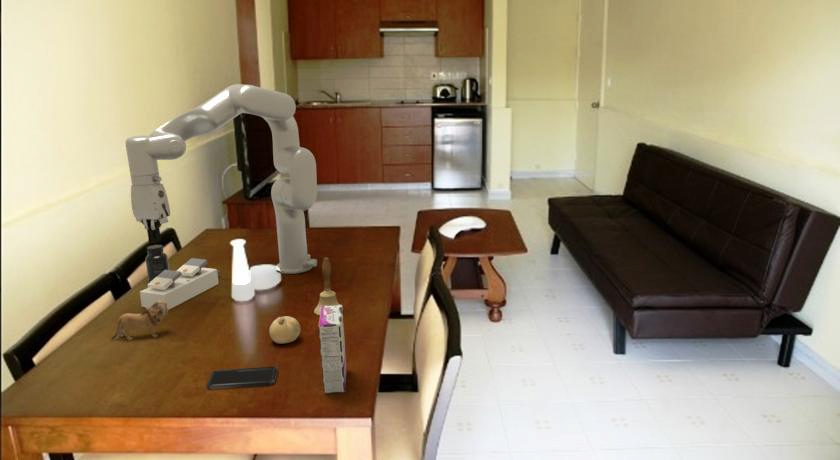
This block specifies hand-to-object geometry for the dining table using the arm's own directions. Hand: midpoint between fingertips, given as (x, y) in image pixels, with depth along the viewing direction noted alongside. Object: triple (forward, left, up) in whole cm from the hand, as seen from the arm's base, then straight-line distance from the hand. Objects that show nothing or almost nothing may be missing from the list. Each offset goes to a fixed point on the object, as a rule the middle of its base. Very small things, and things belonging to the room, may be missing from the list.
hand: (155, 241), depth 191 cm
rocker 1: (0, -2, -13) cm, 13 cm away
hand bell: (-50, -11, -20) cm, 55 cm away
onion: (-49, +10, -20) cm, 54 cm away
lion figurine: (-11, +19, -20) cm, 30 cm away
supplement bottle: (+16, -16, -20) cm, 30 cm away
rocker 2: (0, -14, -13) cm, 19 cm away
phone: (-51, +31, -20) cm, 63 cm away
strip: (0, -11, -20) cm, 22 cm away
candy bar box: (-72, +25, -20) cm, 79 cm away
